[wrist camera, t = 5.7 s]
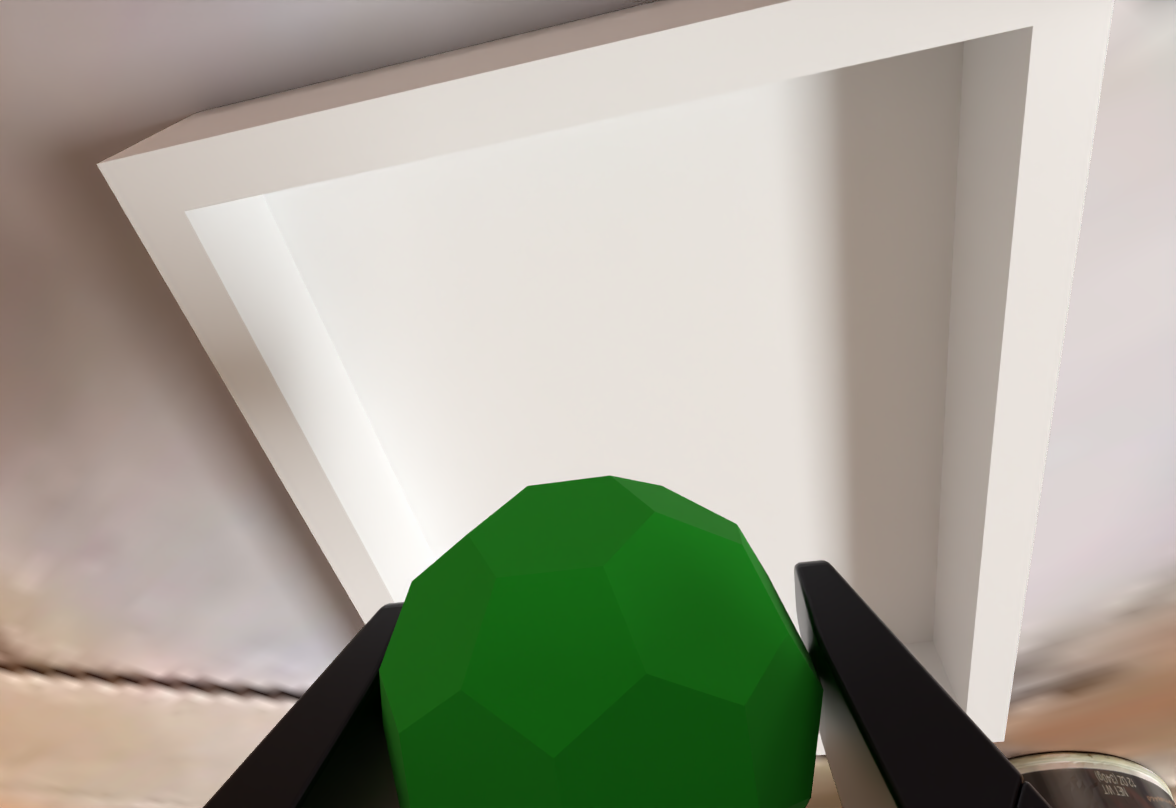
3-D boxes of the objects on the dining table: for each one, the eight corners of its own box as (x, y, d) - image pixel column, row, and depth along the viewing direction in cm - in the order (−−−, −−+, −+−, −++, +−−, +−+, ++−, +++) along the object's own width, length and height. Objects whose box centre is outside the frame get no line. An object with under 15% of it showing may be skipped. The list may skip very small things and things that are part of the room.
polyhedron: (769, 376, 9) (876, 746, 5) (789, 637, 12) (871, 1012, 8) (382, 432, 10) (218, 792, 6) (485, 666, 13) (418, 1021, 9)
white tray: (1015, -86, 15) (1125, -79, 11) (958, 635, 27) (1003, 741, 23) (196, 112, 18) (96, 164, 14) (476, 682, 30) (457, 781, 26)
